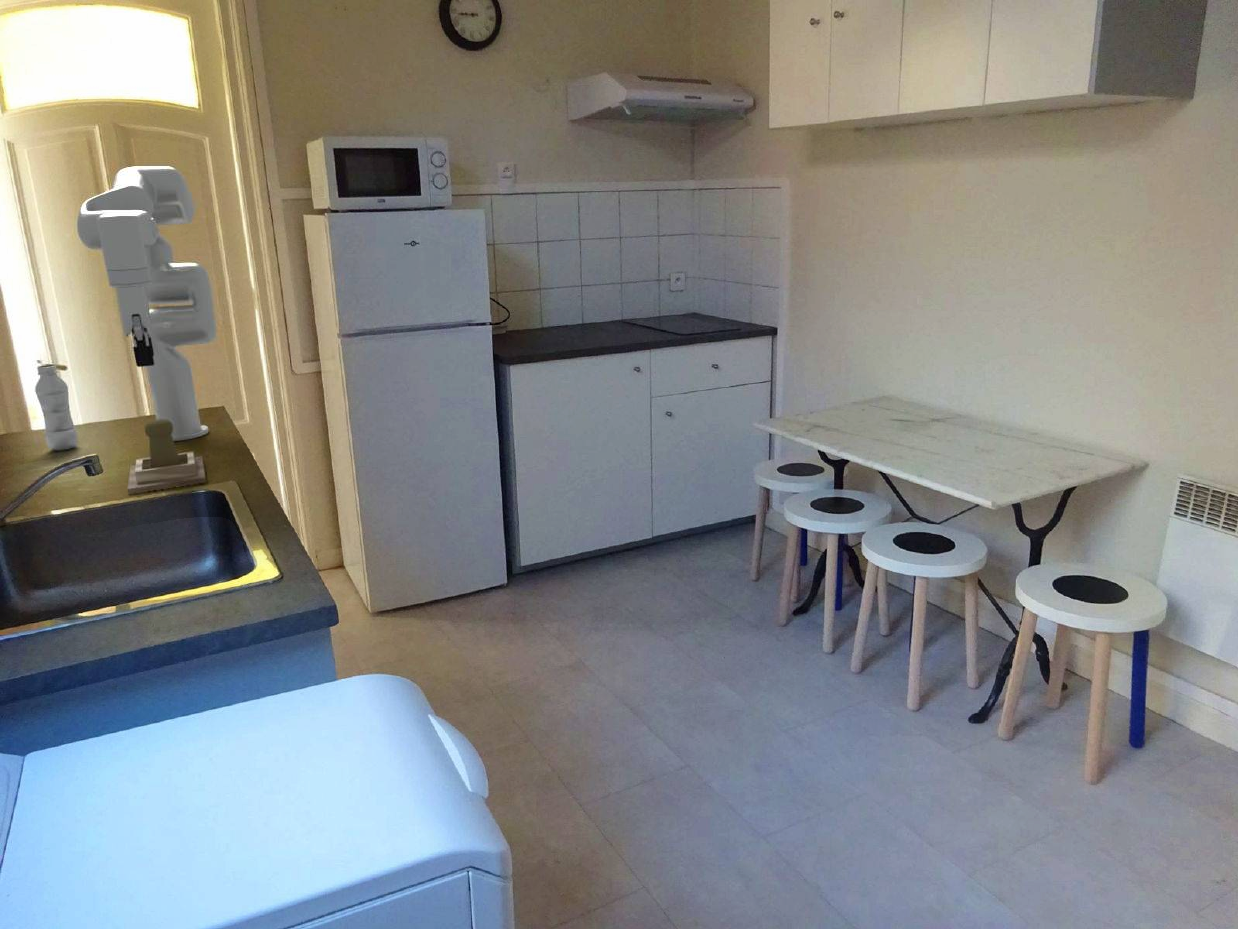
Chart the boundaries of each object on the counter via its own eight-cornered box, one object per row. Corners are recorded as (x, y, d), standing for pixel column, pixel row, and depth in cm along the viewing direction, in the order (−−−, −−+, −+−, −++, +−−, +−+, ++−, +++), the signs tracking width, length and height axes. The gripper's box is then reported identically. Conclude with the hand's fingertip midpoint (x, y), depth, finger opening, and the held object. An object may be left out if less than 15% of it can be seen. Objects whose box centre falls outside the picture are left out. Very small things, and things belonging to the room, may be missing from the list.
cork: (189, 468, 184) (180, 417, 181) (166, 476, 179) (157, 424, 176) (167, 466, 186) (157, 416, 183) (144, 474, 181) (134, 423, 178)
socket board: (131, 471, 188) (128, 456, 187) (202, 461, 194) (200, 446, 193) (128, 494, 172) (125, 478, 171) (206, 483, 178) (203, 467, 177)
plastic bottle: (41, 452, 205) (22, 368, 200) (68, 444, 211) (50, 362, 206) (60, 454, 203) (41, 369, 197) (87, 446, 209) (69, 363, 203)
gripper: (109, 274, 181) (126, 355, 187) (106, 283, 166) (124, 371, 172) (150, 271, 184) (165, 351, 190) (150, 281, 169) (166, 367, 175)
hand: (145, 361), depth 181 cm, fingers open, 9 cm apart
